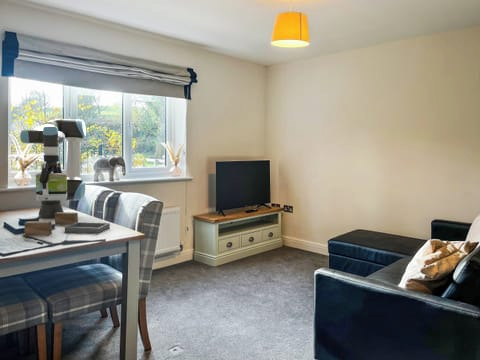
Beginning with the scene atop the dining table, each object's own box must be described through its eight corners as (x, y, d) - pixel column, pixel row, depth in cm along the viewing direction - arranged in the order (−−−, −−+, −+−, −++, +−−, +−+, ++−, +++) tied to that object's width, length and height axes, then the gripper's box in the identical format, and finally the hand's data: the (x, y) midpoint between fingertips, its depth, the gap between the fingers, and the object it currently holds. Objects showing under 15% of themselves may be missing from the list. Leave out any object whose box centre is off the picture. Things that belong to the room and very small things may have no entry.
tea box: (36, 201, 208) (35, 174, 207) (38, 199, 218) (37, 172, 216) (66, 200, 214) (65, 173, 212) (67, 198, 223) (67, 172, 222)
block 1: (28, 234, 205) (27, 221, 204) (51, 234, 206) (51, 221, 205) (24, 236, 201) (24, 222, 200) (48, 236, 202) (48, 222, 201)
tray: (77, 227, 223) (77, 222, 223) (109, 228, 222) (109, 223, 221) (64, 232, 209) (64, 227, 209) (98, 233, 208) (98, 228, 207)
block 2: (58, 223, 233) (58, 212, 233) (77, 224, 232) (77, 212, 232) (55, 224, 229) (54, 213, 229) (74, 225, 228) (74, 213, 228)
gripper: (57, 154, 226) (58, 190, 228) (31, 155, 201) (32, 196, 203) (69, 154, 225) (70, 190, 227) (44, 155, 201) (46, 196, 203)
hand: (52, 193), depth 215 cm, fingers closed on tea box, 12 cm apart
